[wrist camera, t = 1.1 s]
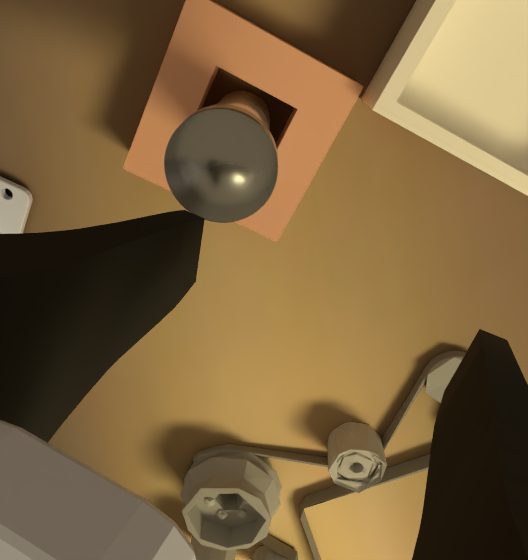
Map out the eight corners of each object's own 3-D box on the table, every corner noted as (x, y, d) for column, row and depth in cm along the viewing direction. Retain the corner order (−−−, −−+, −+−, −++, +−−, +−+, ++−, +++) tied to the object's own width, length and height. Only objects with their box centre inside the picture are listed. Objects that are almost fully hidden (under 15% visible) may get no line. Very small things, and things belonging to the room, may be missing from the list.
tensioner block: (135, 156, 22) (122, 168, 20) (198, -8, 19) (189, -11, 17) (277, 225, 23) (277, 242, 22) (356, 81, 20) (363, 86, 19)
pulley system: (132, 576, 37) (317, 640, 39) (109, 644, 33) (319, 713, 34) (279, 263, 26) (529, 367, 28) (275, 302, 22) (570, 424, 24)
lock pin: (192, 137, 22) (147, 192, 15) (223, 65, 20) (190, 87, 13) (259, 170, 22) (247, 239, 15) (293, 102, 21) (298, 143, 14)
